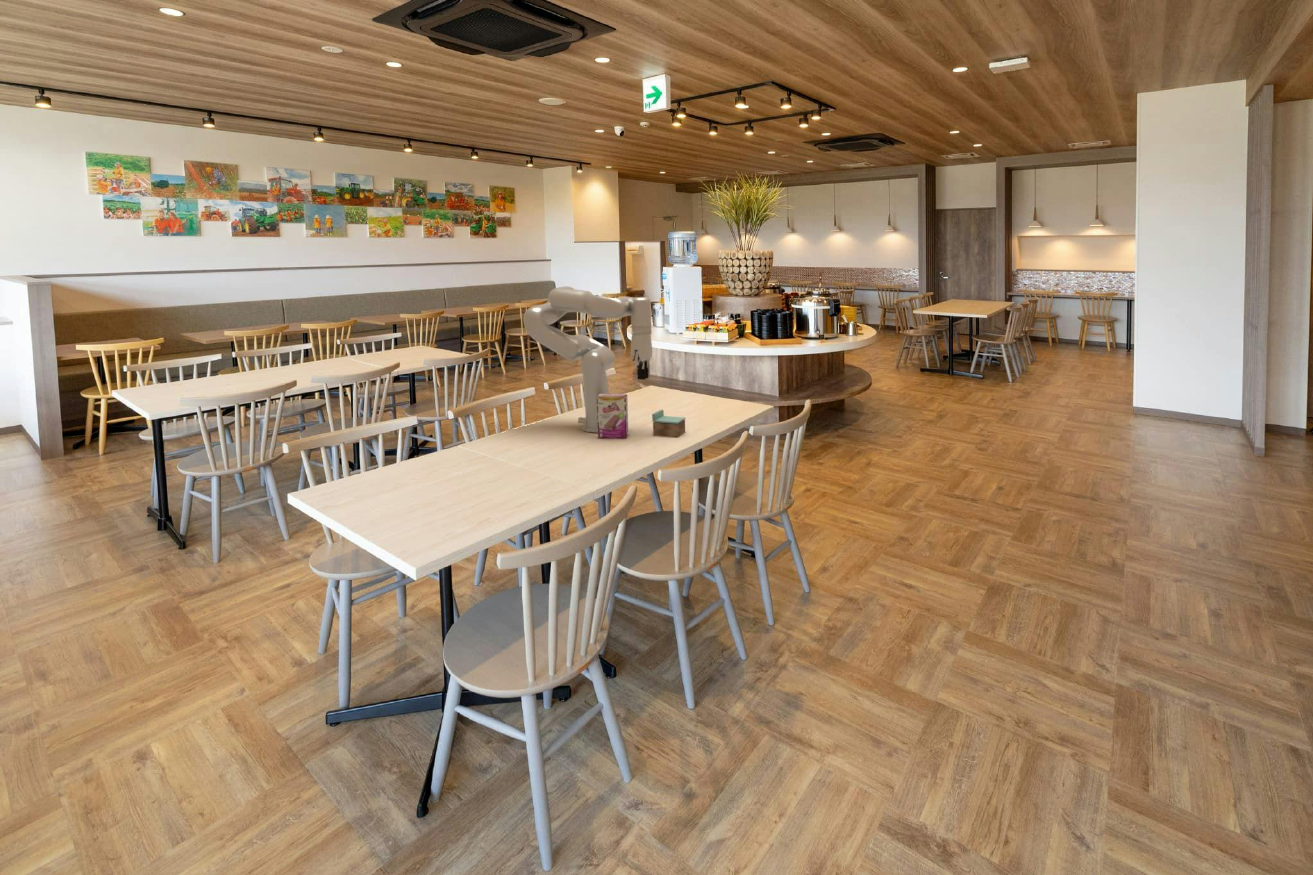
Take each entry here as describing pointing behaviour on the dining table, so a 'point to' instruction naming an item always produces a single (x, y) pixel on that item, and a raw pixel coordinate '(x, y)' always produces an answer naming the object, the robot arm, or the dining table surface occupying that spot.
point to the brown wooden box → (668, 429)
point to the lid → (666, 418)
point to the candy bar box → (612, 415)
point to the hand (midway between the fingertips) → (643, 378)
